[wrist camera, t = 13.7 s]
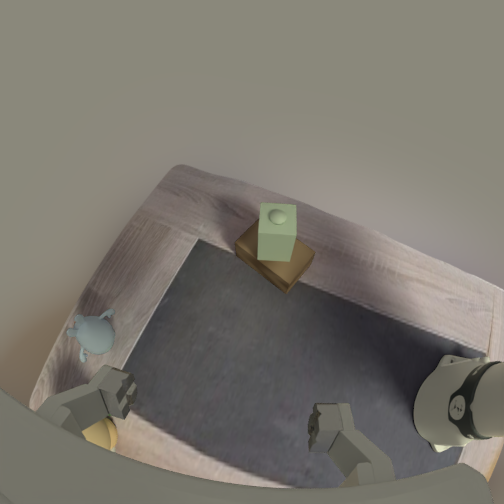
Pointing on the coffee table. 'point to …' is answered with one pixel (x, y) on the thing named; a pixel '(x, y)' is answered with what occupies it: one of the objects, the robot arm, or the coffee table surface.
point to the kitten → (102, 434)
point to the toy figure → (93, 333)
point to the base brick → (274, 271)
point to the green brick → (276, 231)
